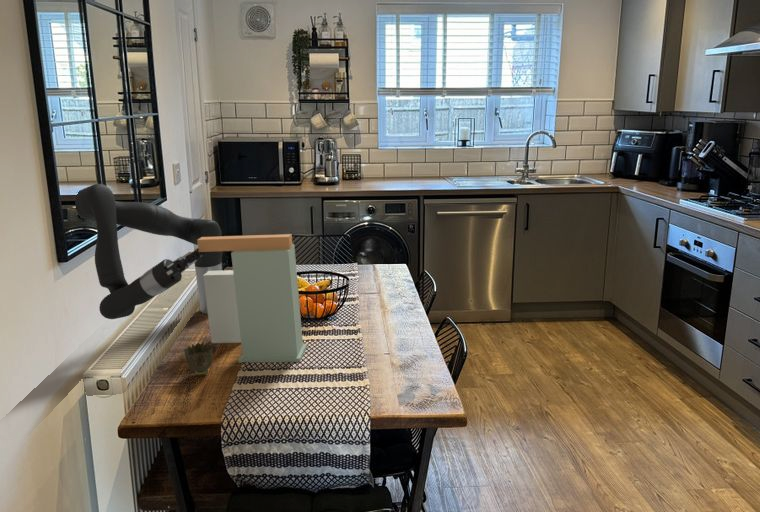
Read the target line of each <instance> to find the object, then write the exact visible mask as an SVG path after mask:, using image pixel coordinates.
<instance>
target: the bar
mask: <svg viewBox="0 0 760 512" xmlns="http://www.w3.org/2000/svg"><path fill="white" fill-rule="evenodd" d="M197 242H198V245H197V249H198V250H199V252H214V251H223V252H233V251H247V250H280V249H291V248H292V246H293V244H294V243H293V235H292V233H285V234H284V233H282V234H280V233H279V234H260V235H259V234H256V235H255V234H254V235H253V234H252V235H224V236H223V235H222V236H219V237H201V238H199V239H198V240H197Z"/></svg>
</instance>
